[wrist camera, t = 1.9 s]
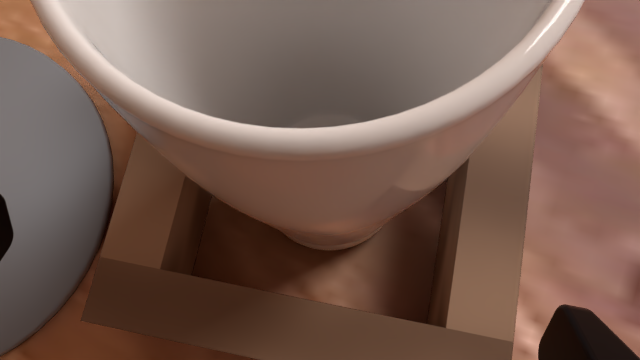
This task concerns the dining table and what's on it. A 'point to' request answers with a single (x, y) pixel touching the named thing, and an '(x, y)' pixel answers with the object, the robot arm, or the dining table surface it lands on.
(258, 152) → the drinking glass
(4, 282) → the slate mat
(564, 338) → the robot arm
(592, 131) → the dining table surface
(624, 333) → the dining table surface
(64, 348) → the dining table surface
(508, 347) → the wooden holder tray
